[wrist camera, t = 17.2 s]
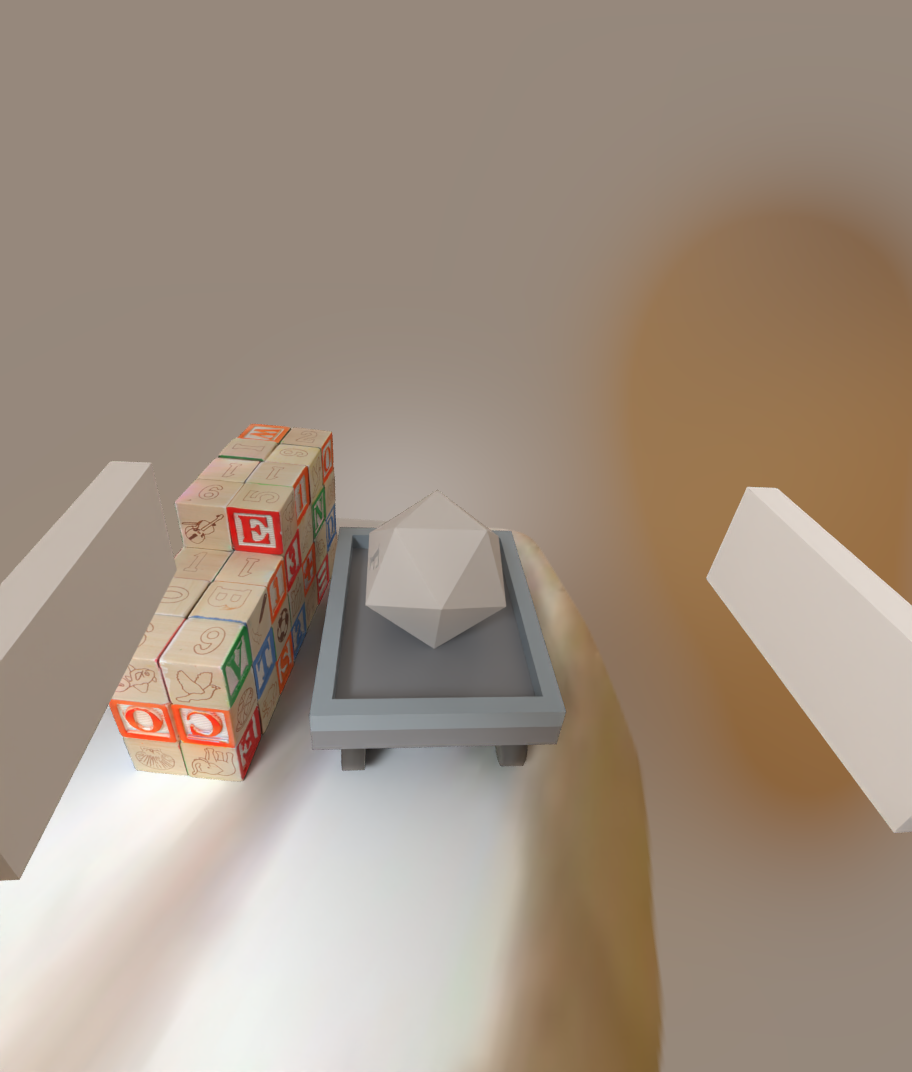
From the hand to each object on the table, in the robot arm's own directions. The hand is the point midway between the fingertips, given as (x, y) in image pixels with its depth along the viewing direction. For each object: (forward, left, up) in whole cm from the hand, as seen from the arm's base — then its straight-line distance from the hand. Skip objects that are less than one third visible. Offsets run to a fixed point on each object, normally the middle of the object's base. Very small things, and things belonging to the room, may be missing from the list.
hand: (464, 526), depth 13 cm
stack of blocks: (-11, +19, -23) cm, 32 cm away
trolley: (+1, +16, -22) cm, 28 cm away
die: (+1, +16, -18) cm, 24 cm away
